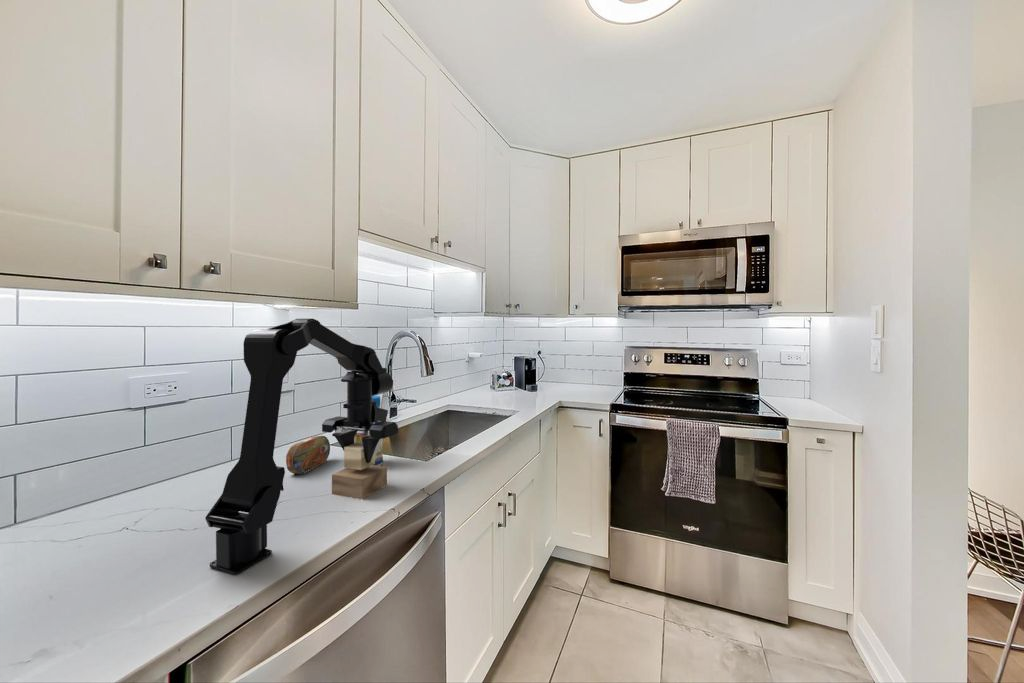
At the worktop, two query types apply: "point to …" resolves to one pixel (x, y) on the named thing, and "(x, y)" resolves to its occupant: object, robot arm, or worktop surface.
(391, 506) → the worktop surface
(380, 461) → the beverage bottle
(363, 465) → the maple cube
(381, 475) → the walnut block
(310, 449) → the tin
